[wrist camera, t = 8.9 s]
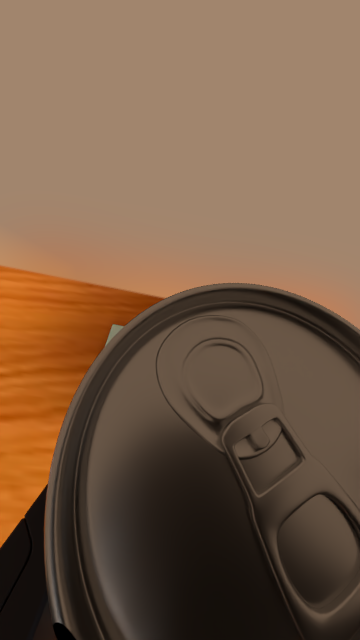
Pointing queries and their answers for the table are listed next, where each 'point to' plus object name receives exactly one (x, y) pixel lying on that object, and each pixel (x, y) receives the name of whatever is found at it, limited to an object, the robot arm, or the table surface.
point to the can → (211, 476)
